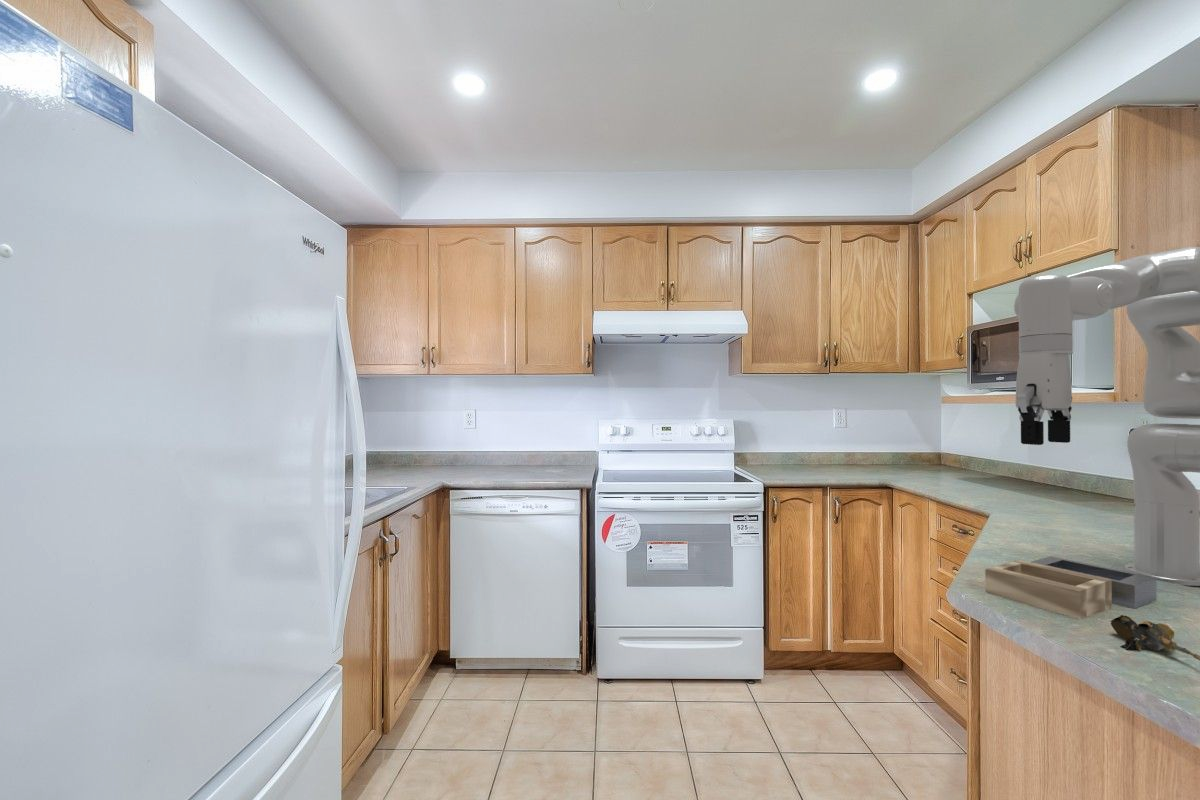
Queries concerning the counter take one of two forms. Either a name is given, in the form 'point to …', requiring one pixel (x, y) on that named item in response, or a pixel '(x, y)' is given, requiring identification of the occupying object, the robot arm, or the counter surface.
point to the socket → (1050, 588)
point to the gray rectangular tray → (1112, 581)
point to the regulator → (1146, 635)
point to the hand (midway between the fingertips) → (1045, 443)
